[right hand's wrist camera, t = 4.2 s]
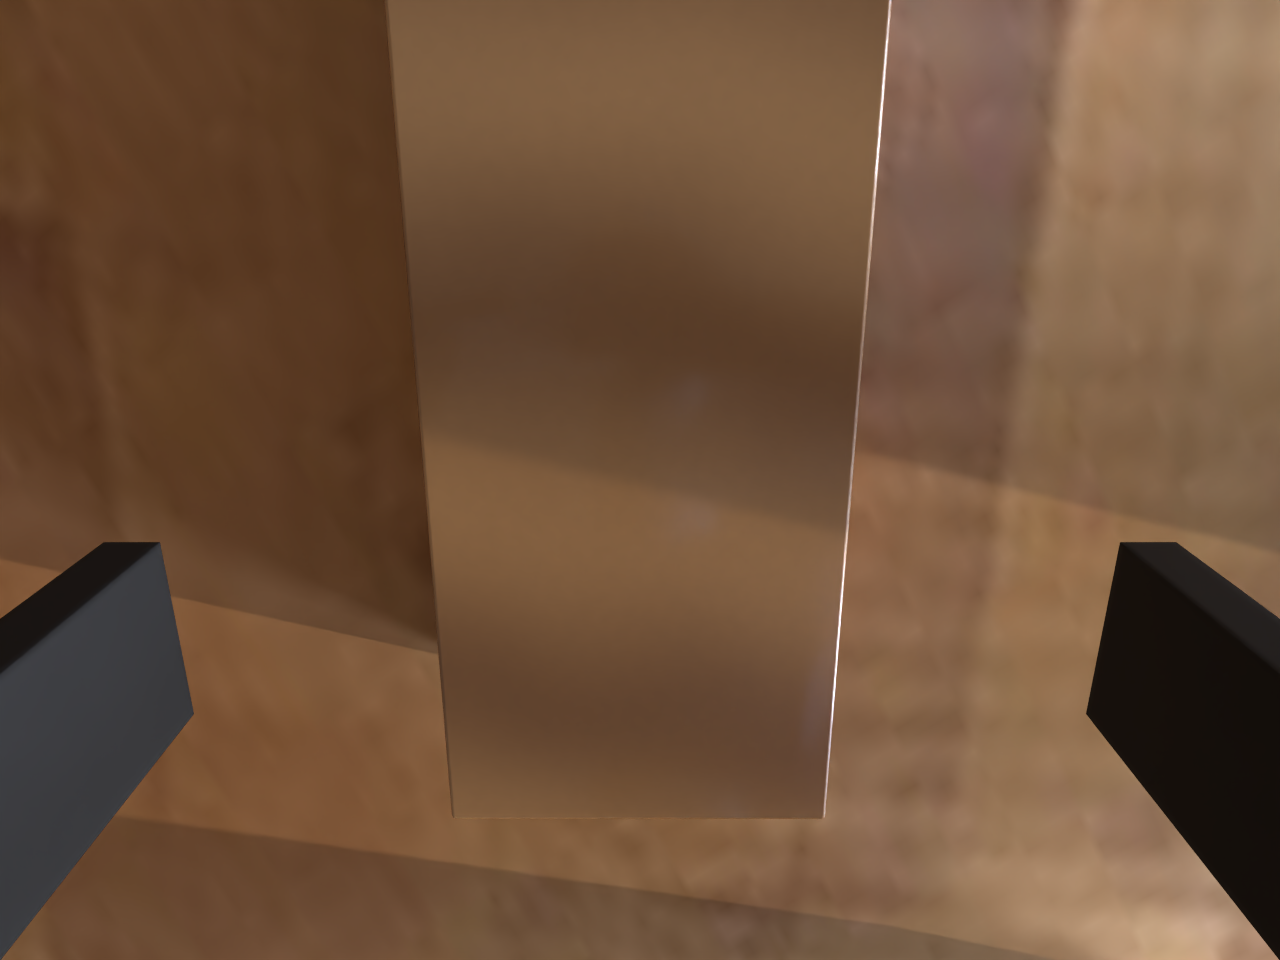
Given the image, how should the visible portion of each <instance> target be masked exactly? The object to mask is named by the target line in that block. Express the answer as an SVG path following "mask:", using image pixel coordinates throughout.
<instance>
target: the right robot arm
mask: <svg viewBox="0 0 1280 960" xmlns="http://www.w3.org/2000/svg"><path fill="white" fill-rule="evenodd" d="M193 714H194V712H193V707H192V702H191V697H190V692H189V687H188V682H187V677H186V672H185V667H184V662H183V656H182V651H181V646H180V641H179V636H178V631H177V626H176V621H175V616H174V611H173V606H172V601H171V596H170V591H169V586H168V581H167V576H166V571H165V566H164V561H163V556H162V551H161V546H160V542H104V543H102V544H101V545H100V546H98V547H97V548H95V549H94V550H93V551H91V552H90V553H89V554H87V555H86V556H85V557H83V558H82V559H81V560H79V561H78V562H77V563H75V564H74V565H72V566H71V567H70V568H68V569H67V570H66V571H64V572H63V573H62V574H60V575H59V576H58V577H56V578H55V579H54V580H52V581H51V582H49V583H48V584H47V585H45V586H44V587H43V588H41V589H40V590H39V591H37V592H36V593H35V594H33V595H32V596H31V597H29V598H28V599H26V600H25V601H24V602H22V603H21V604H20V605H18V606H17V607H16V608H14V609H13V610H12V611H10V612H9V613H8V614H6V615H5V616H3V617H2V618H1V619H0V960H1V959H2V957H3V956H4V955H5V954H6V952H7V951H8V950H9V949H10V947H11V946H12V945H13V943H14V942H15V941H16V940H17V938H18V937H19V936H20V935H21V933H22V932H23V931H24V929H25V928H26V927H27V926H28V924H29V923H30V922H31V921H32V919H33V918H34V917H35V915H36V914H37V913H38V912H39V910H40V909H41V908H42V907H43V905H44V904H45V903H46V901H47V900H48V899H49V898H50V896H51V895H52V894H53V893H54V891H55V890H56V889H57V887H58V886H59V885H60V884H61V882H62V881H63V880H64V879H65V877H66V876H67V875H68V873H69V872H70V871H71V870H72V868H73V867H74V866H75V865H76V863H77V862H78V861H79V859H80V858H81V857H82V856H83V854H84V853H85V852H86V851H87V849H88V848H89V847H90V845H91V844H92V843H93V842H94V840H95V839H96V838H97V837H98V835H99V834H100V833H101V831H102V830H103V829H104V828H105V826H106V825H107V824H108V823H109V821H110V820H111V819H112V817H113V816H114V815H115V814H116V812H117V811H118V810H119V809H120V807H121V806H122V805H123V803H124V802H125V801H126V800H127V798H128V797H129V796H130V795H131V793H132V792H133V791H134V789H135V788H136V787H137V786H138V784H139V783H140V782H141V781H142V779H143V778H144V777H145V775H146V774H147V773H148V772H149V770H150V769H151V768H152V767H153V765H154V764H155V763H156V761H157V760H158V759H159V758H160V756H161V755H162V754H163V753H164V751H165V750H166V749H167V747H168V746H169V745H170V744H171V742H172V741H173V740H174V739H175V737H176V736H177V735H178V733H179V732H180V731H181V730H182V728H183V727H184V726H185V725H186V723H187V722H188V721H189V719H190V718H191V717H192V716H193ZM1086 714H1087V716H1088V717H1089V718H1090V719H1091V721H1092V722H1093V723H1094V725H1095V726H1096V727H1097V728H1098V730H1099V731H1100V732H1101V733H1102V735H1103V736H1104V737H1105V739H1106V740H1107V741H1108V742H1109V744H1110V745H1111V746H1112V747H1113V749H1114V750H1115V751H1116V753H1117V754H1118V755H1119V756H1120V758H1121V759H1122V760H1123V761H1124V763H1125V764H1126V765H1127V767H1128V768H1129V769H1130V770H1131V772H1132V773H1133V774H1134V775H1135V777H1136V778H1137V779H1138V781H1139V782H1140V783H1141V784H1142V786H1143V787H1144V788H1145V789H1146V791H1147V792H1148V793H1149V795H1150V796H1151V797H1152V798H1153V800H1154V801H1155V802H1156V803H1157V805H1158V806H1159V807H1160V809H1161V810H1162V811H1163V812H1164V814H1165V815H1166V816H1167V817H1168V819H1169V820H1170V821H1171V823H1172V824H1173V825H1174V826H1175V828H1176V829H1177V830H1178V831H1179V833H1180V834H1181V835H1182V837H1183V838H1184V839H1185V840H1186V842H1187V843H1188V844H1189V845H1190V847H1191V848H1192V849H1193V851H1194V852H1195V853H1196V854H1197V856H1198V857H1199V858H1200V859H1201V861H1202V862H1203V863H1204V865H1205V866H1206V867H1207V868H1208V870H1209V871H1210V872H1211V873H1212V875H1213V876H1214V877H1215V879H1216V880H1217V881H1218V882H1219V884H1220V885H1221V886H1222V887H1223V889H1224V890H1225V891H1226V893H1227V894H1228V895H1229V896H1230V898H1231V899H1232V900H1233V901H1234V903H1235V904H1236V905H1237V907H1238V908H1239V909H1240V910H1241V912H1242V913H1243V914H1244V915H1245V917H1246V918H1247V919H1248V921H1249V922H1250V923H1251V924H1252V926H1253V927H1254V928H1255V929H1256V931H1257V932H1258V933H1259V935H1260V936H1261V937H1262V938H1263V940H1264V941H1265V942H1266V943H1267V945H1268V946H1269V947H1270V949H1271V950H1272V951H1273V952H1274V954H1275V955H1276V956H1277V957H1278V959H1279V960H1280V619H1279V618H1278V617H1277V616H1275V615H1274V614H1272V613H1271V612H1270V611H1268V610H1267V609H1266V608H1264V607H1263V606H1262V605H1260V604H1259V603H1258V602H1256V601H1255V600H1254V599H1252V598H1251V597H1249V596H1248V595H1247V594H1245V593H1244V592H1243V591H1241V590H1240V589H1239V588H1237V587H1236V586H1235V585H1233V584H1232V583H1231V582H1229V581H1228V580H1226V579H1225V578H1224V577H1222V576H1221V575H1220V574H1218V573H1217V572H1216V571H1214V570H1213V569H1212V568H1210V567H1209V566H1208V565H1206V564H1205V563H1203V562H1202V561H1201V560H1199V559H1198V558H1197V557H1195V556H1194V555H1193V554H1191V553H1190V552H1189V551H1187V550H1186V549H1185V548H1183V547H1182V546H1180V545H1179V544H1178V543H1176V542H1120V546H1119V551H1118V556H1117V561H1116V566H1115V571H1114V576H1113V581H1112V586H1111V591H1110V596H1109V601H1108V606H1107V611H1106V616H1105V621H1104V626H1103V631H1102V636H1101V641H1100V646H1099V651H1098V656H1097V662H1096V667H1095V672H1094V677H1093V682H1092V687H1091V692H1090V697H1089V702H1088V707H1087V712H1086Z"/></svg>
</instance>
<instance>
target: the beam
mask: <svg viewBox="0 0 1280 960" xmlns="http://www.w3.org/2000/svg"><path fill="white" fill-rule="evenodd" d="M384 4H385V16H386V28H387V40H388V52H389V64H390V76H391V88H392V100H393V112H394V124H395V136H396V148H397V160H398V172H399V184H400V196H401V209H402V221H403V233H404V245H405V257H406V269H407V281H408V293H409V305H410V317H411V329H412V341H413V353H414V365H415V377H416V389H417V401H418V413H419V425H420V437H421V449H422V461H423V473H424V485H425V497H426V509H427V521H428V533H429V545H430V557H431V569H432V581H433V593H434V605H435V617H436V629H437V641H438V653H439V665H440V677H441V689H442V701H443V713H444V725H445V737H446V749H447V761H448V773H449V786H450V798H451V810H452V816H453V818H456V819H822V818H824V816H825V810H826V798H827V786H828V773H829V761H830V749H831V737H832V724H833V712H834V700H835V688H836V676H837V663H838V651H839V639H840V627H841V615H842V602H843V590H844V578H845V566H846V554H847V541H848V529H849V517H850V505H851V493H852V480H853V468H854V456H855V444H856V432H857V419H858V407H859V395H860V383H861V371H862V358H863V346H864V334H865V322H866V310H867V297H868V285H869V273H870V261H871V248H872V236H873V224H874V212H875V200H876V187H877V175H878V163H879V151H880V139H881V126H882V114H883V102H884V90H885V78H886V65H887V53H888V41H889V29H890V17H891V4H892V0H384Z"/></svg>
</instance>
